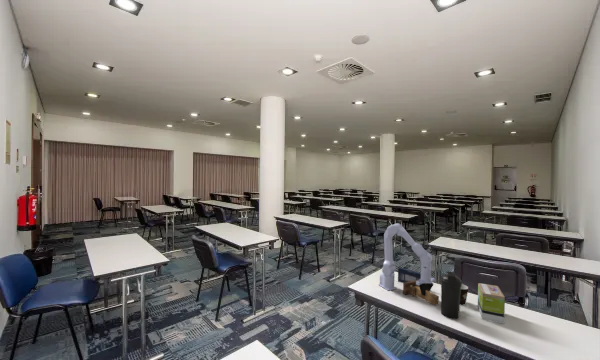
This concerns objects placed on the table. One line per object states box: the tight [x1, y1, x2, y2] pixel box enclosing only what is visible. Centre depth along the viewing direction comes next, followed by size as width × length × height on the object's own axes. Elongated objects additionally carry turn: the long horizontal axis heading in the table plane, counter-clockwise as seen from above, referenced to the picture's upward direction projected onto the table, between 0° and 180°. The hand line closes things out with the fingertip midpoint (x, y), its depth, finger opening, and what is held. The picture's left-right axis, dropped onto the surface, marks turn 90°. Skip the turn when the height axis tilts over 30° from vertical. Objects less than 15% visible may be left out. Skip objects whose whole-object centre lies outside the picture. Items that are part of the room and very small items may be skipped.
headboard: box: [402, 280, 419, 297], centre depth 169 cm, size 5×15×7 cm, turn 115°
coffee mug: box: [460, 283, 469, 306], centre depth 159 cm, size 12×9×10 cm
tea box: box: [477, 282, 506, 324], centre depth 145 cm, size 15×10×15 cm, turn 154°
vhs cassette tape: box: [397, 266, 421, 284], centre depth 182 cm, size 18×3×10 cm, turn 43°
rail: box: [413, 285, 440, 306], centre depth 162 cm, size 16×3×5 cm, turn 25°
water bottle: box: [440, 271, 463, 320], centre depth 144 cm, size 10×10×23 cm
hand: (425, 294), depth 162 cm, fingers closed on rail, 3 cm apart
